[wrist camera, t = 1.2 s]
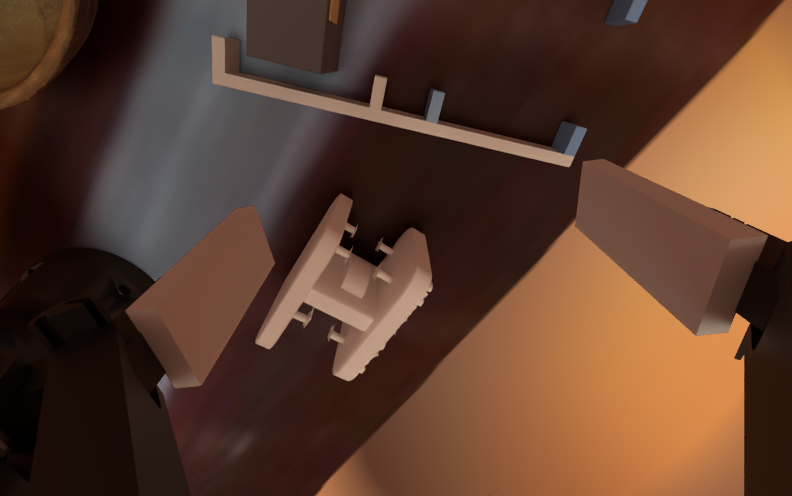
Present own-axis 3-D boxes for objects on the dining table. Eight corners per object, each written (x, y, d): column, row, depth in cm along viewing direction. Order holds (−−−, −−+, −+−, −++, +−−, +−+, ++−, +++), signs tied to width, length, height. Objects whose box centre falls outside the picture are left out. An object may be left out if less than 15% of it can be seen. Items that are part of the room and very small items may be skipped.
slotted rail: (228, 81, 31) (208, 83, 28) (226, -162, 24) (199, -198, 21) (555, 159, 34) (573, 169, 31) (641, -34, 27) (675, -47, 24)
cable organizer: (345, 178, 36) (325, 225, 25) (428, 229, 38) (440, 290, 28) (284, 279, 41) (247, 351, 31) (359, 317, 44) (348, 394, 34)
